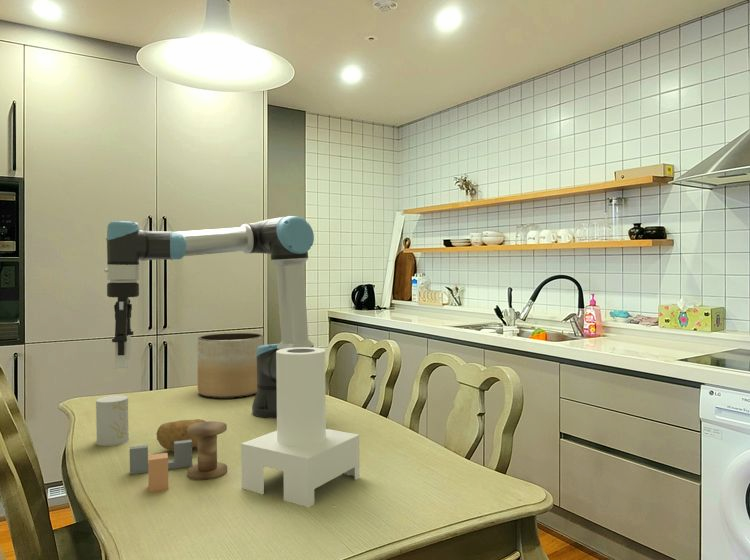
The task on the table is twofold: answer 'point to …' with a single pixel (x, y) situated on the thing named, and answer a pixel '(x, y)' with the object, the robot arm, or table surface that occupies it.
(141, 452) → the gray board
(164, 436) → the potato
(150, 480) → the orange brown tapered block
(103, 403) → the cup
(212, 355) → the planter
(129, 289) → the robot arm
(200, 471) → the bobbin
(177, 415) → the table surface
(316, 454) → the paper towel holder
